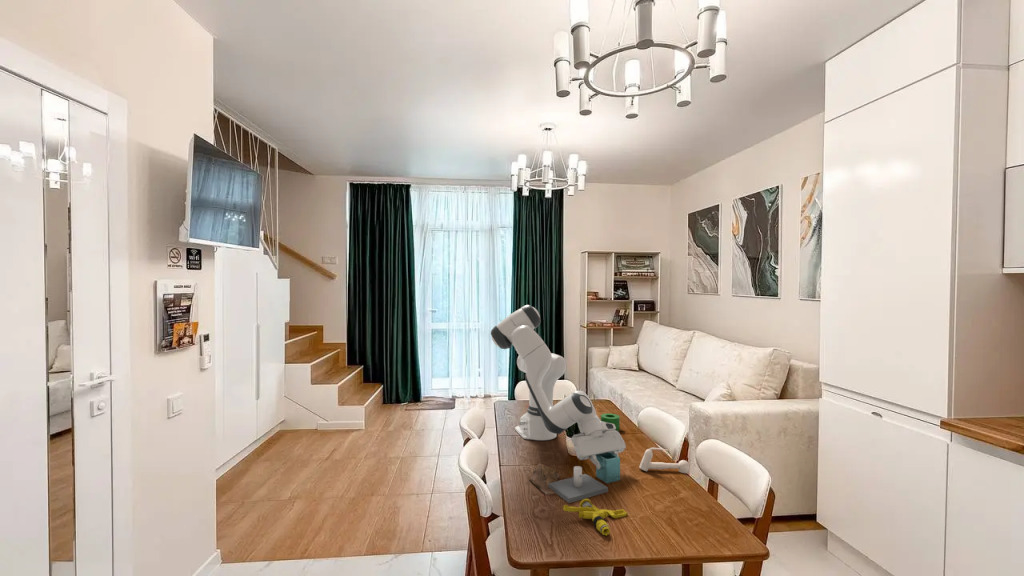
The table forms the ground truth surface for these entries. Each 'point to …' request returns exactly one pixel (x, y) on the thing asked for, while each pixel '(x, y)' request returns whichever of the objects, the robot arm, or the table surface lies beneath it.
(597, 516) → the sprinkler
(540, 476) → the wooden fragment
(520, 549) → the table surface
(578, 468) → the post
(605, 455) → the teal square cup
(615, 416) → the green bracket
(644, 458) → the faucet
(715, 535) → the table surface
